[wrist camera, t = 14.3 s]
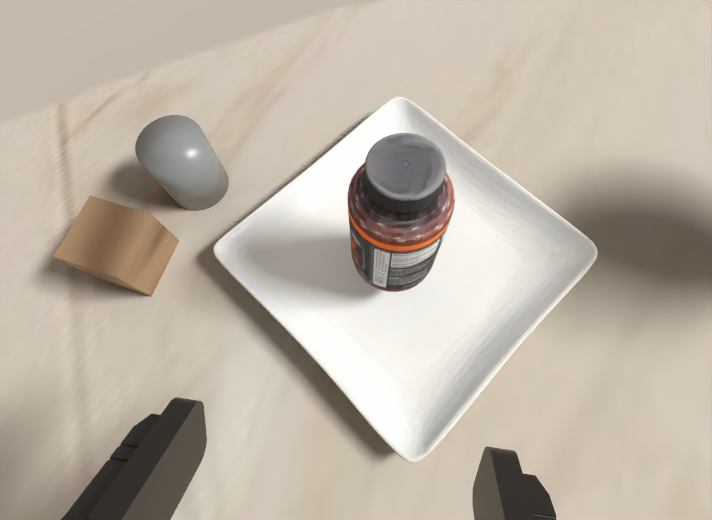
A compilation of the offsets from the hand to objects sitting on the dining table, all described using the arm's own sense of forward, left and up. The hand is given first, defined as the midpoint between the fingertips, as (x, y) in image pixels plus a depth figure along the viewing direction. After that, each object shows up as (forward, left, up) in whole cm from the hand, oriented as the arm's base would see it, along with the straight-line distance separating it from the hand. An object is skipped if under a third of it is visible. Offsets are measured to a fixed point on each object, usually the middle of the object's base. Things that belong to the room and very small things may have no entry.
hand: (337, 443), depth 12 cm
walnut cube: (-22, -1, -19) cm, 29 cm away
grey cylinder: (-23, +7, -19) cm, 30 cm away
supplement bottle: (-5, +11, -16) cm, 20 cm away
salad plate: (-5, +12, -20) cm, 23 cm away
